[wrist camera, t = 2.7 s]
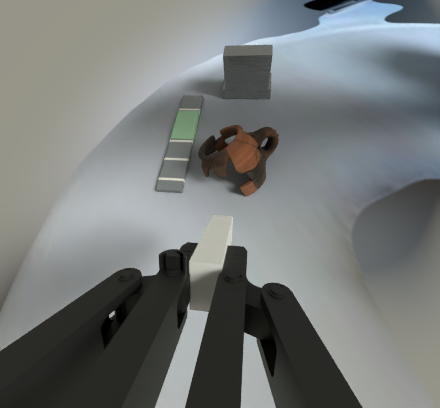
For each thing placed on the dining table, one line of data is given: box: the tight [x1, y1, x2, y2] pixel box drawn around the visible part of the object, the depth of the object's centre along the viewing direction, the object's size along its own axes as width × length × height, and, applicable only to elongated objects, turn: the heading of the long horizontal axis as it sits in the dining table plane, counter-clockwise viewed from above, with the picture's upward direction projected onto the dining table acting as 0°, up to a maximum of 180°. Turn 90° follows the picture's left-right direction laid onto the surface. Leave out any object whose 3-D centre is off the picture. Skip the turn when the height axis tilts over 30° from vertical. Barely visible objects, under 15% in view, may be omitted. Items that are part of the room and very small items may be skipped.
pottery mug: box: [198, 125, 279, 196], centre depth 34 cm, size 12×10×8 cm
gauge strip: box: [156, 96, 203, 193], centre depth 39 cm, size 22×4×1 cm, turn 173°
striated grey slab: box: [223, 45, 272, 99], centre depth 41 cm, size 5×9×8 cm, turn 83°
